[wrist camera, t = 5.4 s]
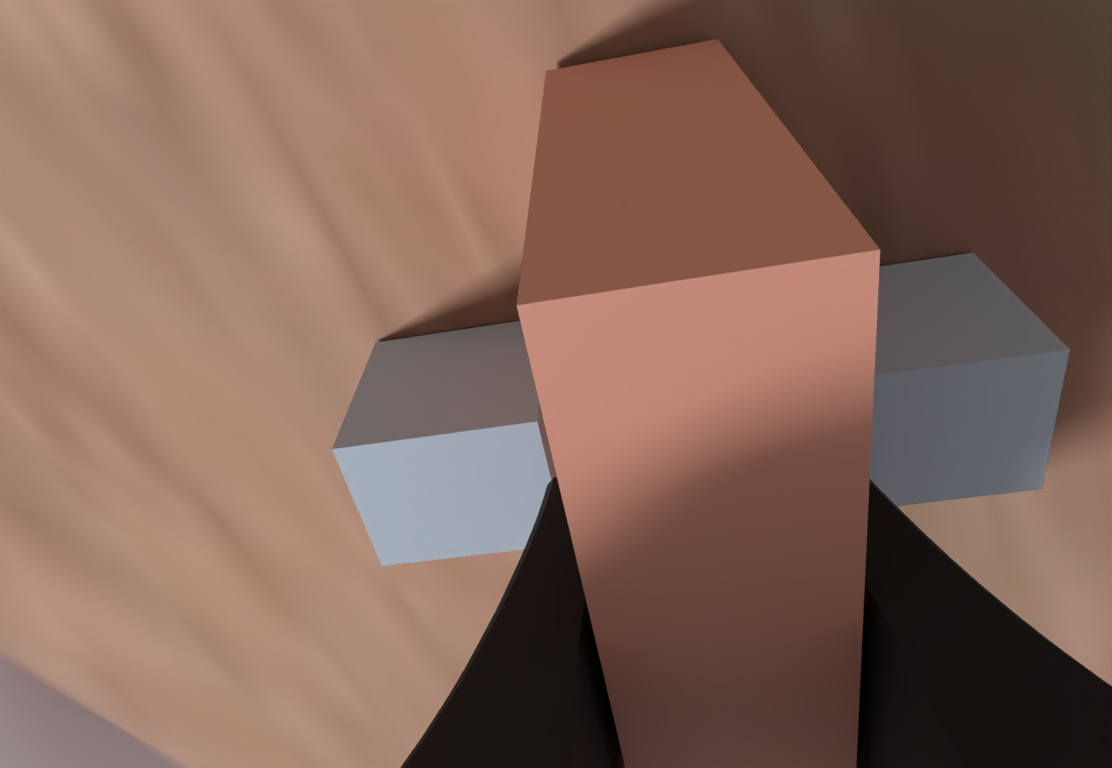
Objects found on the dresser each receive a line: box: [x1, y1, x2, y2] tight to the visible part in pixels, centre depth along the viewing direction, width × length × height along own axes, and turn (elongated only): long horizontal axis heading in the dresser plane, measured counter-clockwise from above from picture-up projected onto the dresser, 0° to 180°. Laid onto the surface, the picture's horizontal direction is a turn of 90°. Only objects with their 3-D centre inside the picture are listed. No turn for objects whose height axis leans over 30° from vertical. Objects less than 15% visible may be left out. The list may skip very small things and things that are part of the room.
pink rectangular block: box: [517, 39, 880, 768], centre depth 11 cm, size 2×10×7 cm, turn 10°
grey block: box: [332, 253, 1070, 566], centre depth 13 cm, size 10×2×3 cm, turn 100°
